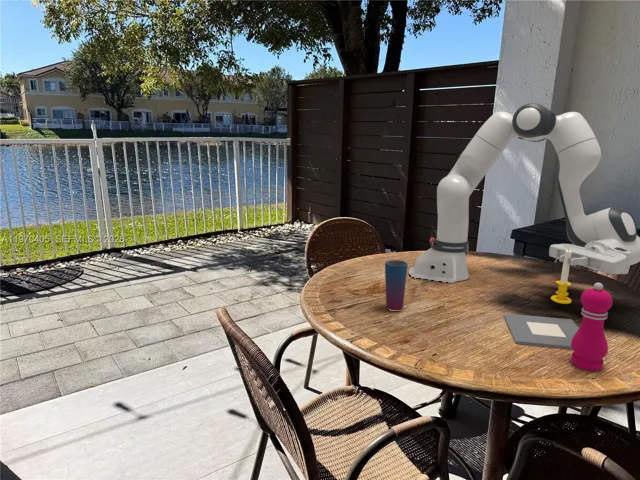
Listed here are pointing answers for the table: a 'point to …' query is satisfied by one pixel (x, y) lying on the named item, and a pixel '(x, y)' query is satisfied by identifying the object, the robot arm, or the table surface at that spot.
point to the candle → (563, 282)
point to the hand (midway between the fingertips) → (565, 260)
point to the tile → (541, 330)
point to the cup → (395, 283)
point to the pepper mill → (592, 330)
